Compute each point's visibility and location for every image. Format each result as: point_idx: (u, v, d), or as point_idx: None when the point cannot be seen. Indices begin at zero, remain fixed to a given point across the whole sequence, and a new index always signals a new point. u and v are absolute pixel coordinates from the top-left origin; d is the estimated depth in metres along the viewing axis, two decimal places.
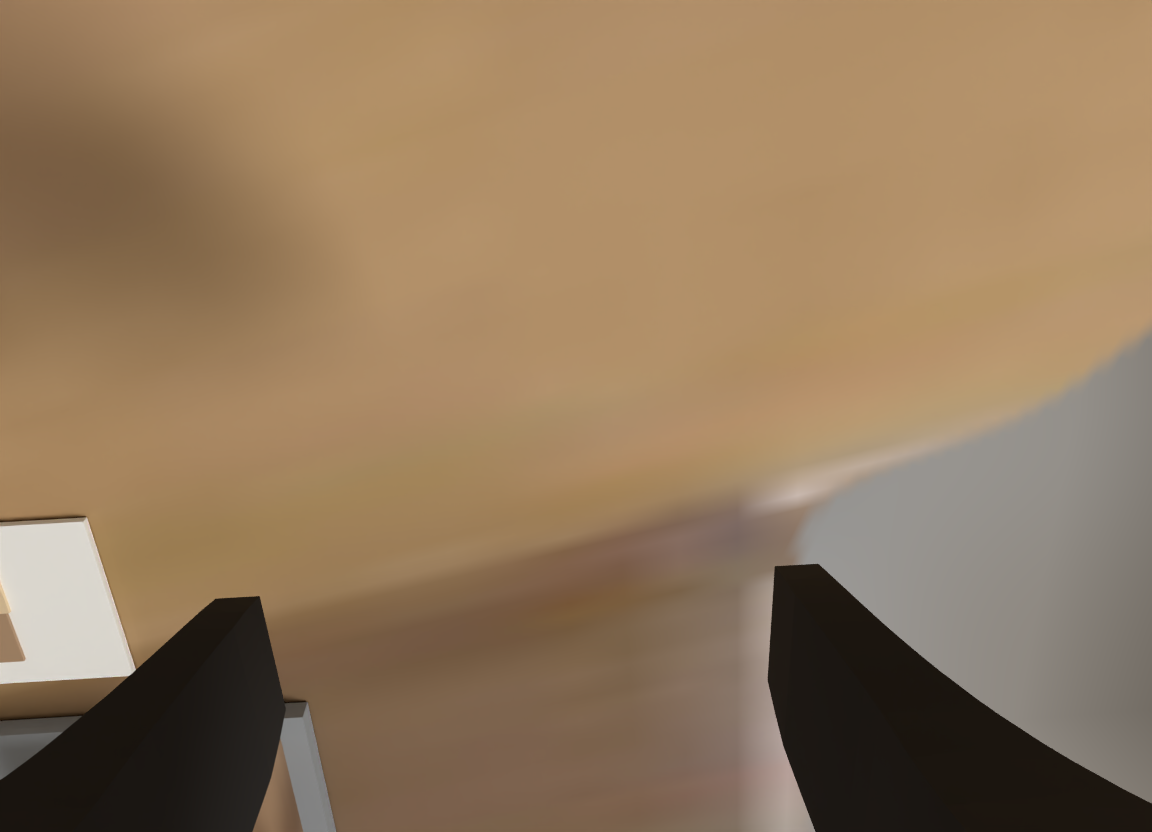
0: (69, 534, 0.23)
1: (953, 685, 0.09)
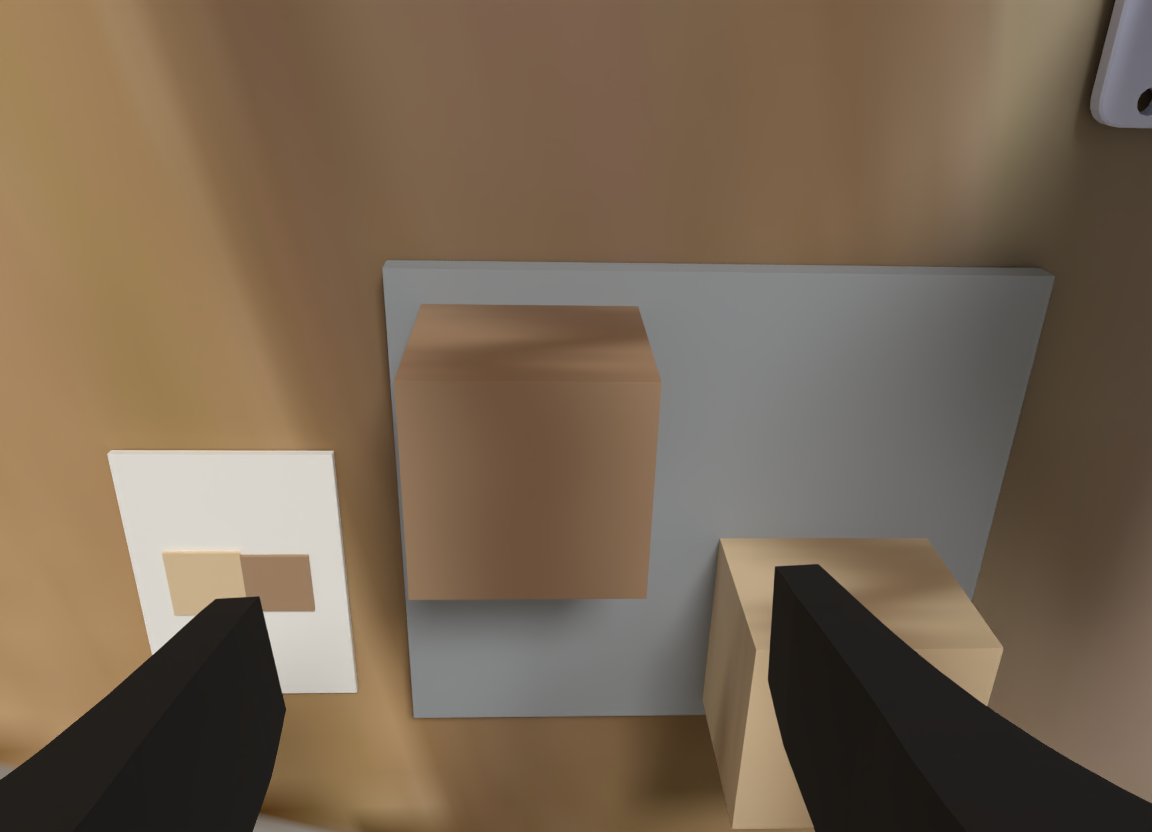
0: (127, 471, 0.21)
1: (953, 685, 0.09)
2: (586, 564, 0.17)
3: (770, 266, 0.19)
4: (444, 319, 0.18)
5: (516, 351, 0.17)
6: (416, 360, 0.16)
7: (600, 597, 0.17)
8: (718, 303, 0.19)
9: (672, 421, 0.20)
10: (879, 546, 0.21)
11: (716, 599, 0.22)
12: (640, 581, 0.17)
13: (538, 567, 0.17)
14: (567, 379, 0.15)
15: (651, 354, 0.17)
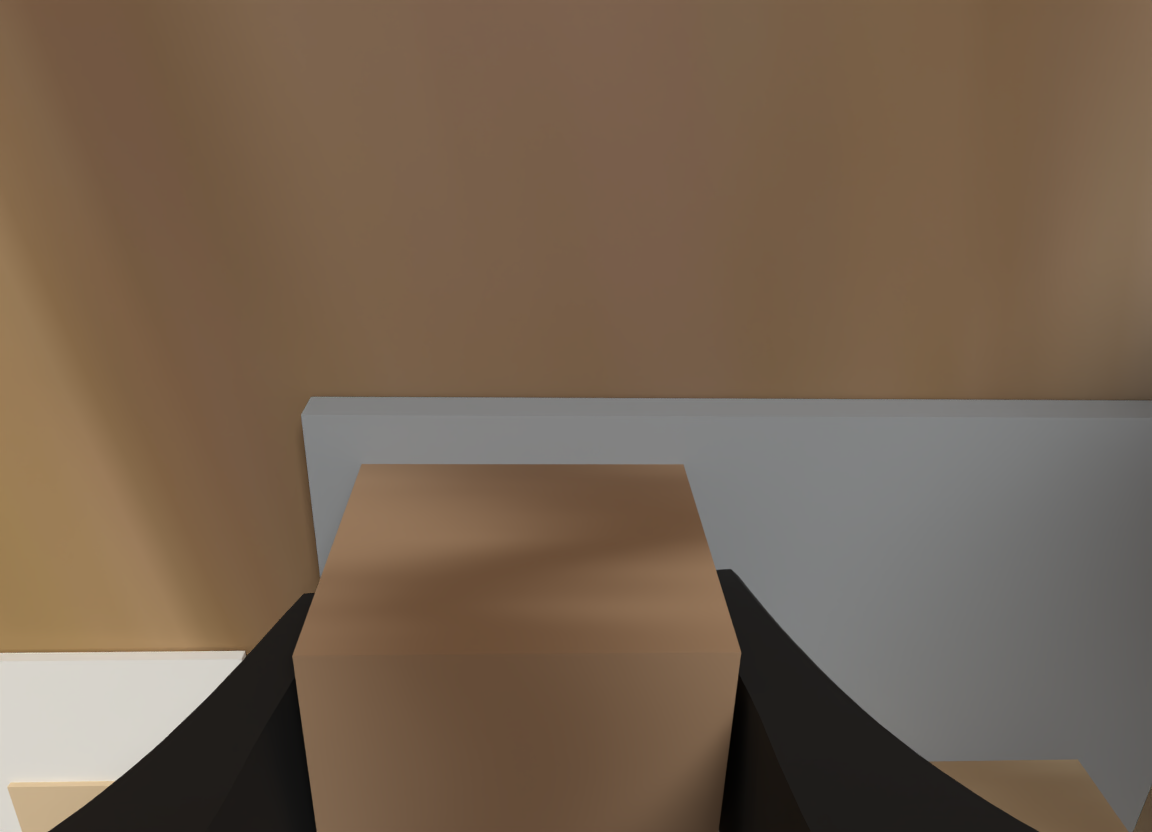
0: None
1: (838, 692, 0.09)
2: None
3: (877, 403, 0.13)
4: (392, 498, 0.12)
5: (499, 573, 0.10)
6: (337, 600, 0.10)
7: None
8: (802, 459, 0.13)
9: None
10: (1015, 776, 0.15)
11: None
12: None
13: None
14: (584, 648, 0.09)
15: (716, 579, 0.10)
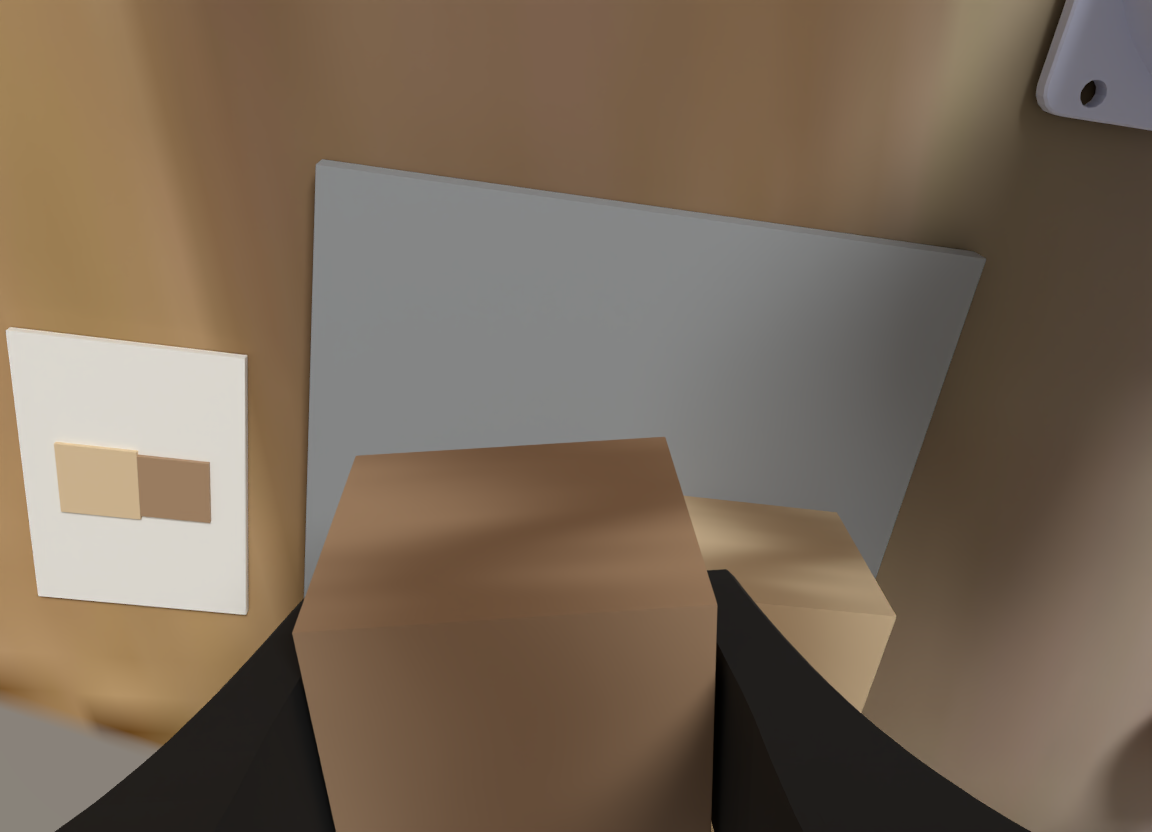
0: (25, 351, 0.20)
1: (832, 692, 0.09)
2: None
3: (710, 215, 0.19)
4: (385, 485, 0.12)
5: (487, 547, 0.11)
6: (335, 580, 0.10)
7: None
8: (654, 245, 0.19)
9: (596, 362, 0.20)
10: (789, 514, 0.21)
11: None
12: None
13: None
14: (567, 609, 0.10)
15: (694, 540, 0.11)
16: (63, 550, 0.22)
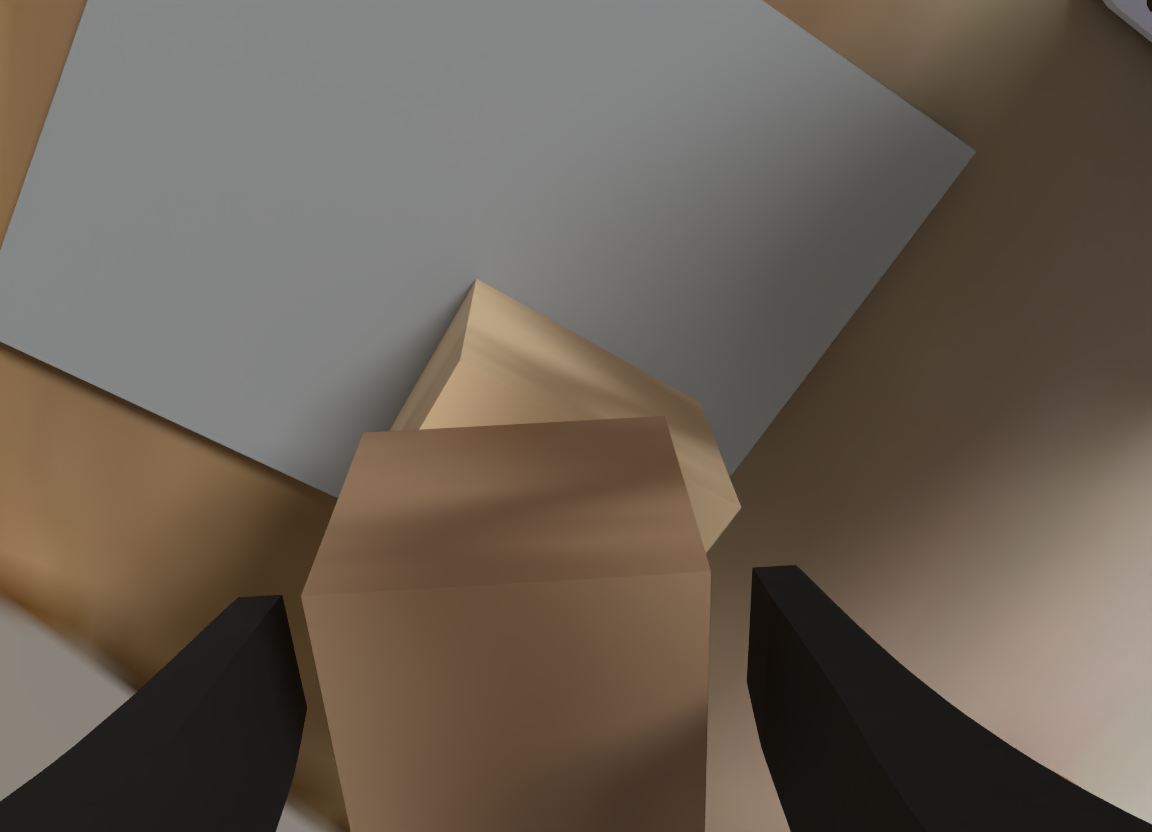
0: None
1: (924, 687, 0.09)
2: (614, 817, 0.12)
3: None
4: (392, 460, 0.13)
5: (490, 518, 0.11)
6: (342, 548, 0.11)
7: None
8: None
9: (493, 86, 0.15)
10: (647, 379, 0.17)
11: (435, 352, 0.17)
12: None
13: (544, 826, 0.12)
14: (566, 577, 0.10)
15: (691, 512, 0.11)
16: None
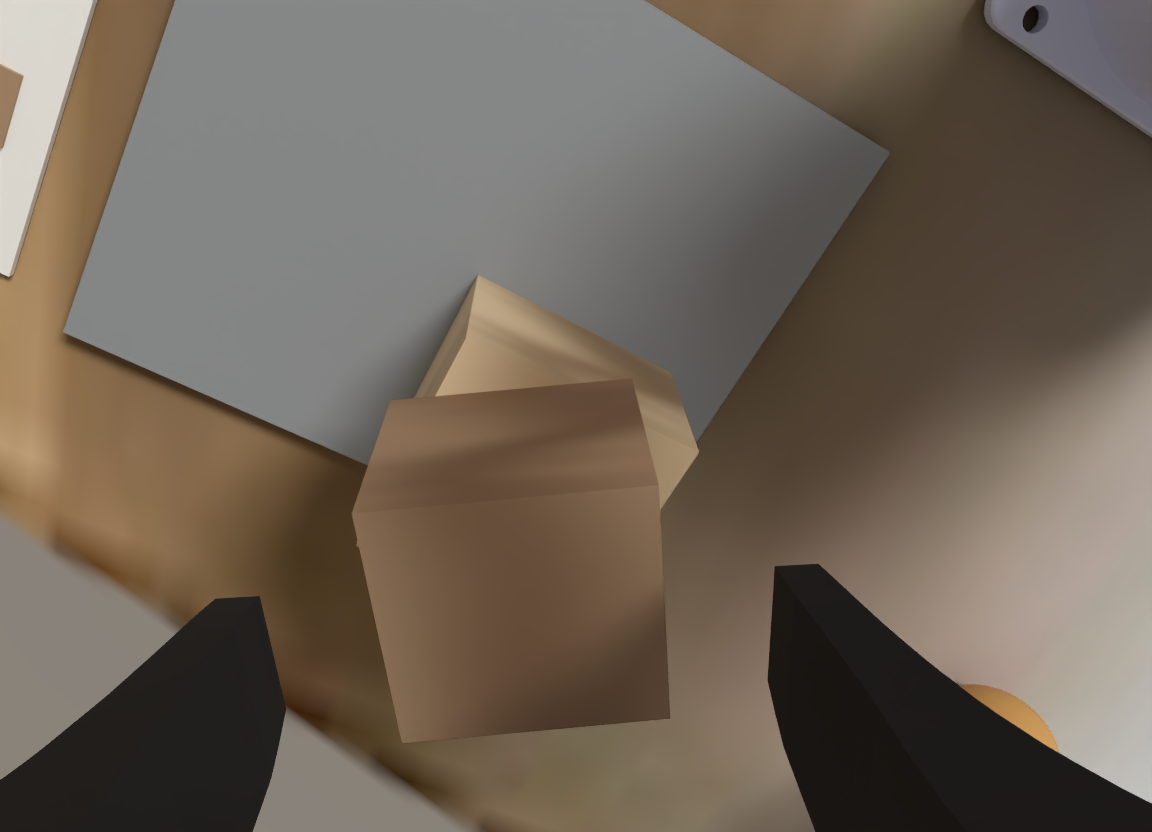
0: None
1: (953, 685, 0.09)
2: (597, 687, 0.15)
3: None
4: (414, 419, 0.16)
5: (492, 456, 0.15)
6: (380, 481, 0.14)
7: (616, 720, 0.15)
8: (583, 7, 0.18)
9: (485, 116, 0.19)
10: (625, 354, 0.21)
11: (446, 337, 0.20)
12: (661, 700, 0.15)
13: (543, 696, 0.15)
14: (550, 493, 0.13)
15: (647, 445, 0.14)
16: None
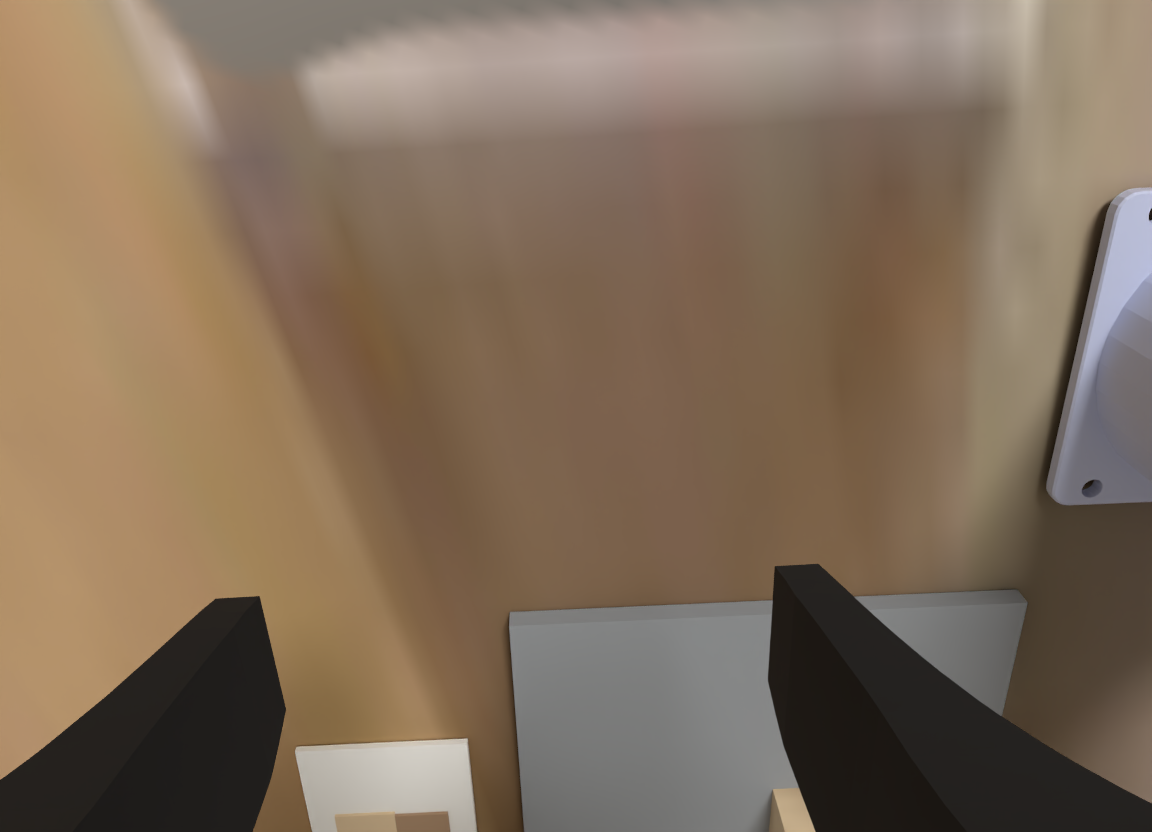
0: (309, 762, 0.27)
1: (953, 685, 0.09)
2: None
3: None
4: None
5: None
6: None
7: None
8: (766, 634, 0.25)
9: (732, 713, 0.26)
10: None
11: None
12: None
13: None
14: None
15: None
16: None
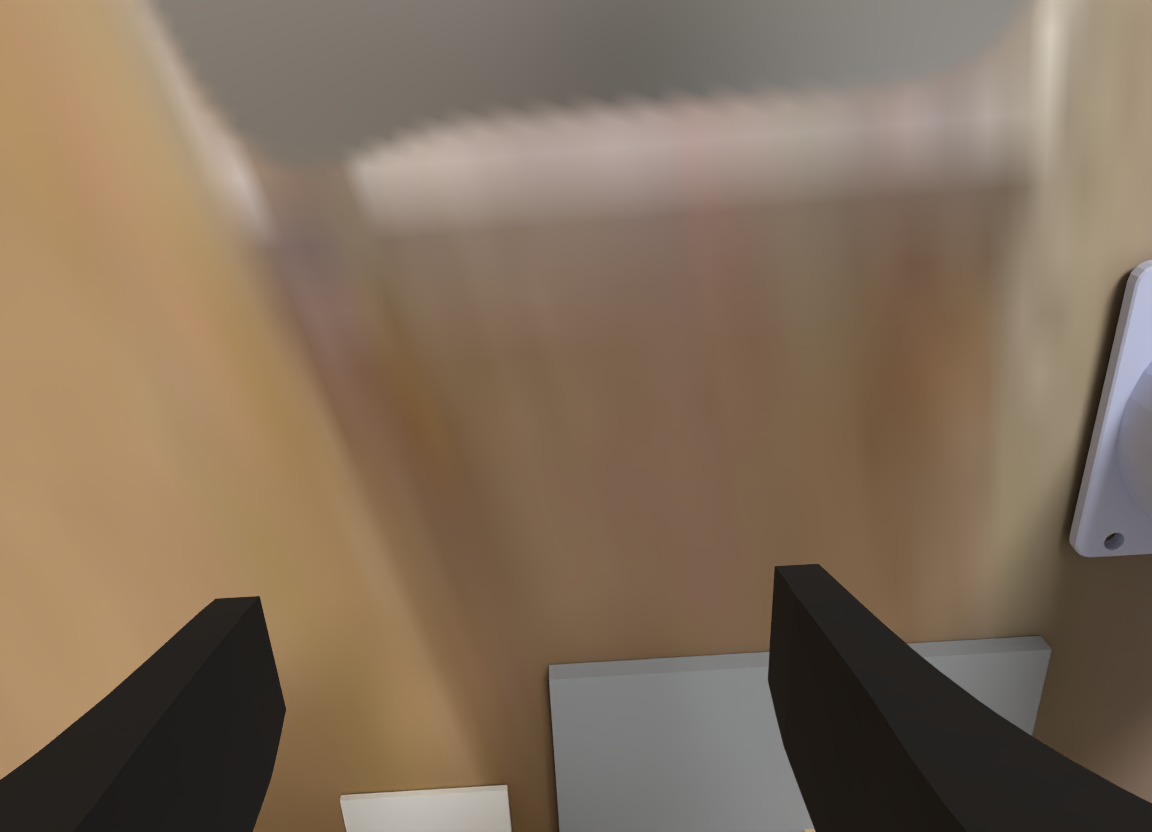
0: (354, 810, 0.27)
1: (953, 685, 0.09)
2: None
3: None
4: None
5: None
6: None
7: None
8: None
9: (765, 758, 0.27)
10: None
11: None
12: None
13: None
14: None
15: None
16: None
